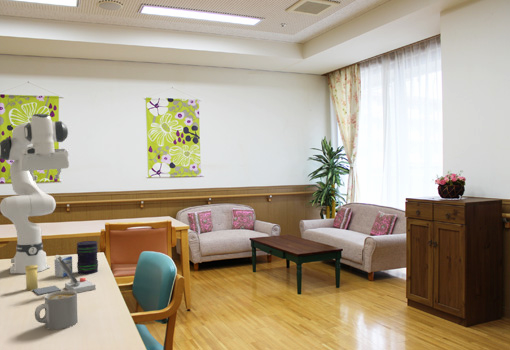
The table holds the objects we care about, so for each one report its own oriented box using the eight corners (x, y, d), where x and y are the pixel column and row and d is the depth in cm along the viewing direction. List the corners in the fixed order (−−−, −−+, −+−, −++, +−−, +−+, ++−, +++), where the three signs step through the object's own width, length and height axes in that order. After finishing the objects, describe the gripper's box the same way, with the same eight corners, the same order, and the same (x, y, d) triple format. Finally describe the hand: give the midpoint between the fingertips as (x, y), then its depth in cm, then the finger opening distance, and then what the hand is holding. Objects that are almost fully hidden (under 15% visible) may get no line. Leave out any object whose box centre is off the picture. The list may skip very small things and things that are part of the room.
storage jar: (95, 268, 228) (95, 240, 228) (100, 272, 220) (99, 242, 220) (75, 271, 223) (74, 242, 222) (79, 275, 214) (78, 245, 214)
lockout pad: (32, 290, 189) (32, 289, 189) (54, 286, 195) (54, 285, 195) (38, 295, 182) (38, 293, 182) (61, 291, 188) (61, 289, 188)
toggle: (73, 284, 191) (54, 256, 186) (76, 282, 192) (57, 254, 187) (77, 286, 187) (57, 258, 182) (80, 284, 188) (60, 255, 183)
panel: (65, 287, 193) (64, 280, 193) (85, 283, 199) (85, 276, 199) (74, 293, 184) (73, 285, 184) (95, 289, 190) (95, 281, 190)
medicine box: (62, 277, 211) (62, 259, 211) (54, 277, 212) (54, 259, 212) (72, 273, 219) (72, 256, 219) (64, 273, 220) (64, 255, 220)
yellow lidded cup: (24, 288, 192) (23, 266, 192) (36, 286, 195) (36, 264, 195) (27, 291, 188) (26, 268, 188) (39, 289, 192) (39, 266, 191)
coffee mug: (73, 316, 155) (72, 288, 155) (81, 324, 147) (80, 295, 147) (31, 325, 147) (30, 296, 147) (37, 334, 139) (36, 303, 139)
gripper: (66, 148, 209) (68, 177, 210) (17, 150, 196) (20, 181, 198) (69, 148, 204) (71, 178, 205) (20, 150, 191) (22, 182, 193)
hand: (46, 179), depth 201 cm, fingers open, 8 cm apart
